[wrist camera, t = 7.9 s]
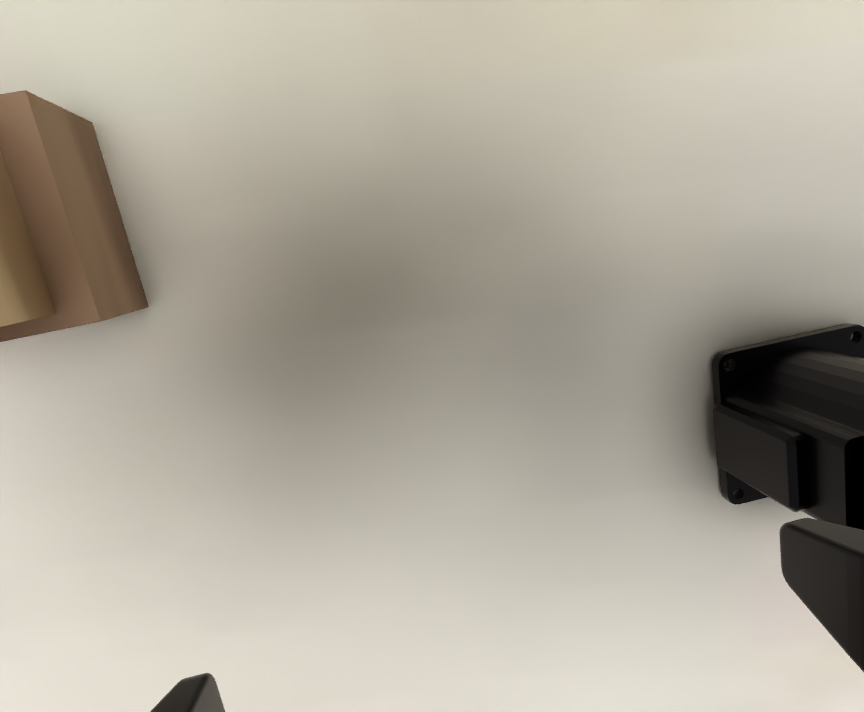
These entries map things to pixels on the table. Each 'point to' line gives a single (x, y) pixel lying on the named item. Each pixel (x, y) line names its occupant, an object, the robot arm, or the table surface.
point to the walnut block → (67, 215)
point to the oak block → (18, 263)
